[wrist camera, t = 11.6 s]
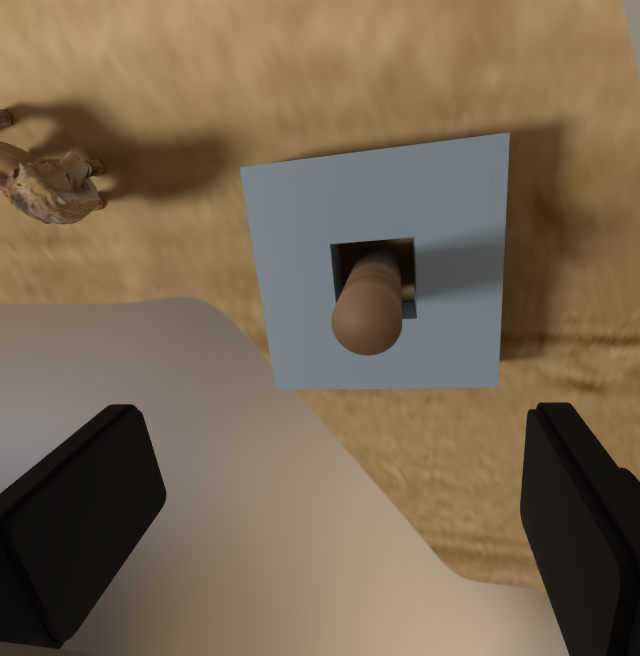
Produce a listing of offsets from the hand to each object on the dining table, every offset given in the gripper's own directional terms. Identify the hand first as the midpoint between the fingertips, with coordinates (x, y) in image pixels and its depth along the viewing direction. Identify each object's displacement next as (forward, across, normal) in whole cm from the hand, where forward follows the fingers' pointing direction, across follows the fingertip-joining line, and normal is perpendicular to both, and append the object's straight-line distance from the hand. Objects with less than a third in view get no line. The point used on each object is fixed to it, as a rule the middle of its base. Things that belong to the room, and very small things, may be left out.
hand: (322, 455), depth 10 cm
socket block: (+22, 0, 0) cm, 22 cm away
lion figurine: (+23, +23, -10) cm, 34 cm away
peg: (+22, 0, +1) cm, 22 cm away
